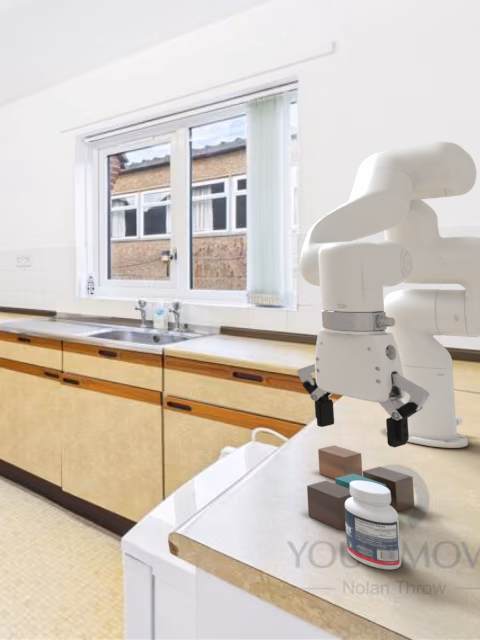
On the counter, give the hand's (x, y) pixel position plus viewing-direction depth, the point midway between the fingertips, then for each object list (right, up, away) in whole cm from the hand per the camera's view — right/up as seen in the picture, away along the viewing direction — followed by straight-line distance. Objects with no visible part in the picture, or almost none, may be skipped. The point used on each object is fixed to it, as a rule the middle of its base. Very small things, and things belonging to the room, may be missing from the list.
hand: (359, 434), depth 73 cm
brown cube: (-6, -11, -3) cm, 13 cm away
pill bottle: (-9, -11, -13) cm, 19 cm away
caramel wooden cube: (+6, -12, +11) cm, 17 cm away
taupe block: (+6, -11, +2) cm, 13 cm away
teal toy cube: (0, -11, -1) cm, 11 cm away
